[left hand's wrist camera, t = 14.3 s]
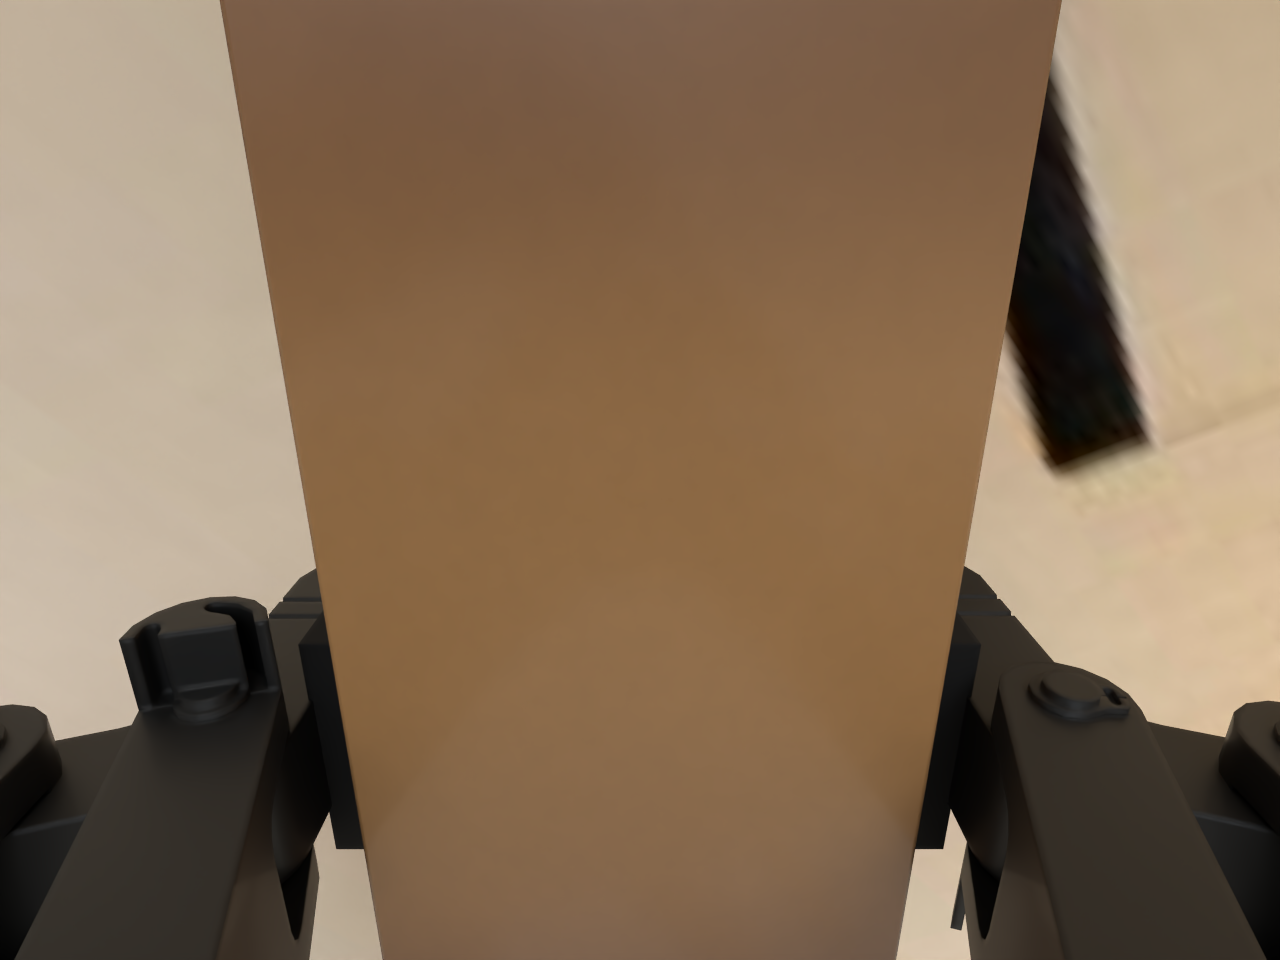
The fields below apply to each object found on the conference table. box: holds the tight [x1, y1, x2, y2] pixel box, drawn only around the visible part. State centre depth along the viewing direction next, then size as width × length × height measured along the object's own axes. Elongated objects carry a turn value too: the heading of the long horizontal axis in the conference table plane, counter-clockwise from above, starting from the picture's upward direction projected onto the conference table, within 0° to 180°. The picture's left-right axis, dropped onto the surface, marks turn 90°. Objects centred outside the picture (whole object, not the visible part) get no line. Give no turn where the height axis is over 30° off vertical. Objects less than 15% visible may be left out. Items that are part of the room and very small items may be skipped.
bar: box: [220, 0, 1062, 960], centre depth 9 cm, size 22×5×8 cm, turn 0°
